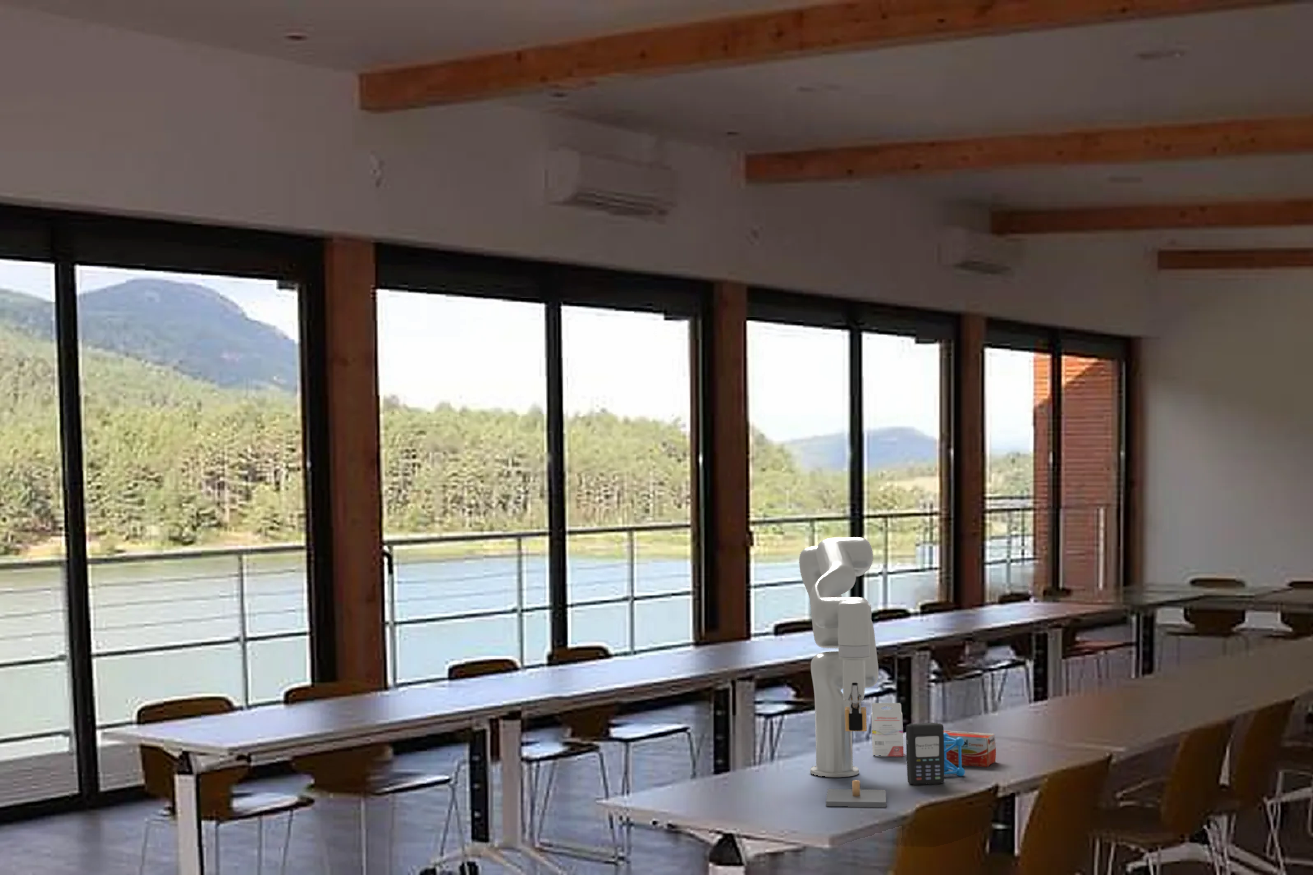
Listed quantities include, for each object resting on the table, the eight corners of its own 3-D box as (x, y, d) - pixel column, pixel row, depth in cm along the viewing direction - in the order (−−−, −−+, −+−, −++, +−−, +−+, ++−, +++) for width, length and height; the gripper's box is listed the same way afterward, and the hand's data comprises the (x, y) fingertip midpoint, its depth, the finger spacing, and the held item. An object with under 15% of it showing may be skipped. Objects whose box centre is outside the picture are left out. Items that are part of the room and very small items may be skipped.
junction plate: (827, 794, 374) (827, 774, 374) (885, 794, 372) (885, 775, 373) (826, 806, 361) (825, 786, 361) (886, 807, 359) (885, 787, 359)
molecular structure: (966, 776, 393) (965, 737, 393) (932, 780, 390) (931, 740, 390) (946, 769, 403) (946, 731, 403) (913, 773, 399) (912, 734, 400)
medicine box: (996, 762, 412) (995, 732, 412) (988, 768, 405) (988, 737, 405) (941, 759, 419) (940, 729, 419) (932, 764, 411) (932, 734, 411)
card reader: (910, 786, 382) (909, 725, 383) (905, 783, 386) (904, 723, 387) (945, 784, 384) (944, 724, 384) (940, 781, 388) (939, 721, 388)
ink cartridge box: (903, 753, 426) (902, 700, 427) (903, 757, 422) (902, 703, 422) (872, 753, 428) (871, 700, 428) (872, 756, 423) (871, 703, 423)
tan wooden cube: (845, 727, 370) (845, 707, 370) (866, 727, 369) (866, 707, 369) (845, 731, 365) (844, 710, 365) (866, 731, 364) (866, 710, 364)
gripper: (839, 648, 376) (840, 722, 376) (837, 656, 359) (839, 734, 359) (869, 648, 375) (871, 722, 375) (870, 656, 358) (871, 734, 358)
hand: (855, 727), depth 367 cm, fingers closed on tan wooden cube, 5 cm apart
